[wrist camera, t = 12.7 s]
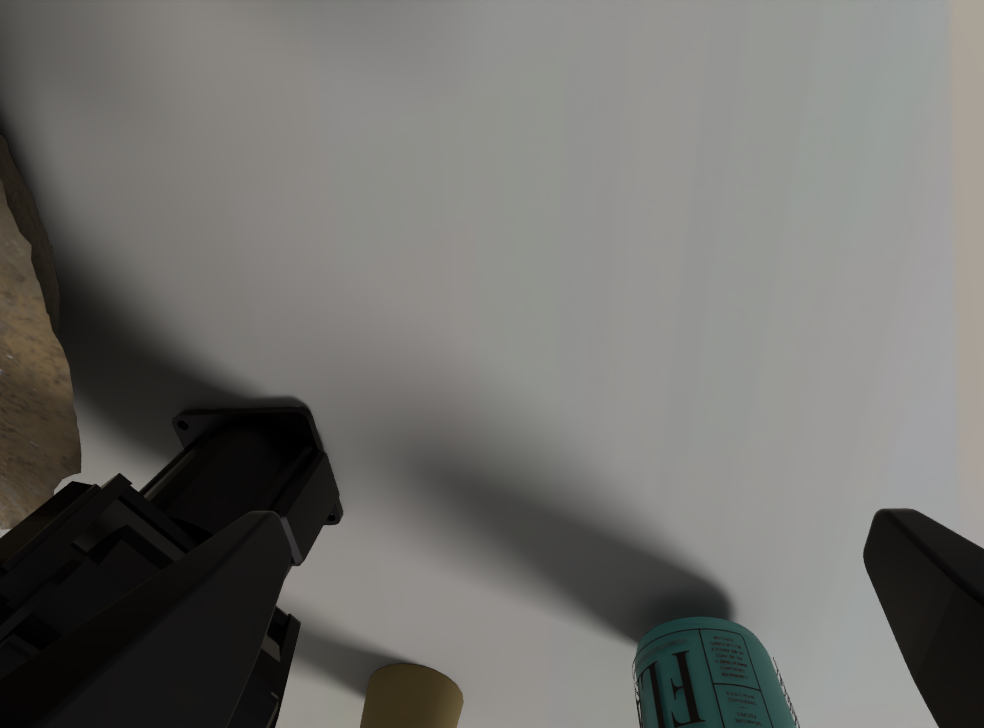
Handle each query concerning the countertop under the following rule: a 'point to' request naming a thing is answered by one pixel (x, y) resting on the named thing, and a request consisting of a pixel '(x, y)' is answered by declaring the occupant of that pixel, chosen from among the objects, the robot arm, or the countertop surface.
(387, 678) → the cork
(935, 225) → the countertop surface
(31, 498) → the stone bowl
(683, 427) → the countertop surface
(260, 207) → the countertop surface
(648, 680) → the beverage bottle
